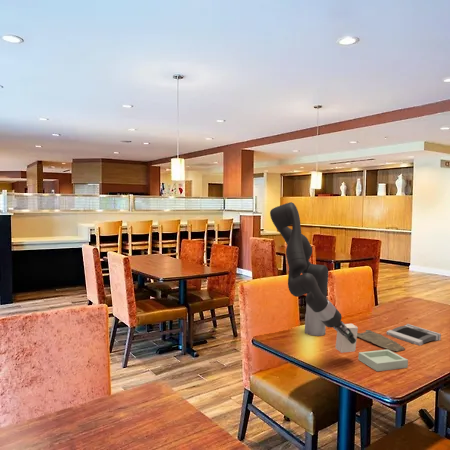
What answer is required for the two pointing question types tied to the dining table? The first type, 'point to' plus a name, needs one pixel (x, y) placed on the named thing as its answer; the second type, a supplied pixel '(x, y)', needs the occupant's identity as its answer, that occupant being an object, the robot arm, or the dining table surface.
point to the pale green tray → (383, 360)
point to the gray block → (346, 340)
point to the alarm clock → (414, 334)
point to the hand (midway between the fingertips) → (350, 339)
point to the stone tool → (380, 340)
